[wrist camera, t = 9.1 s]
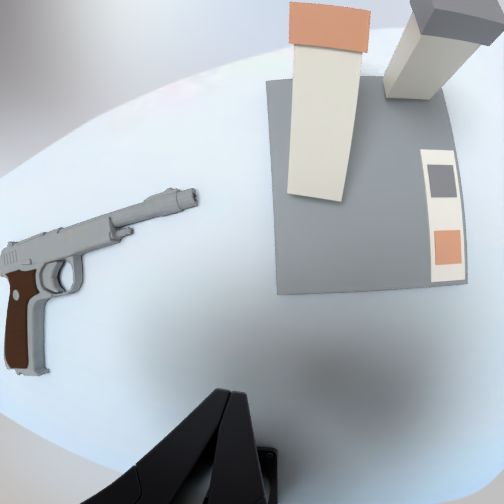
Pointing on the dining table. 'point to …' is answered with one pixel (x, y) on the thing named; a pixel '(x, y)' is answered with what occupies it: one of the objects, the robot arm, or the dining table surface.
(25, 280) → the handgun
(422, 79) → the lever
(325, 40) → the lever
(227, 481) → the robot arm
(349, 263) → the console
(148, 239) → the dining table surface
